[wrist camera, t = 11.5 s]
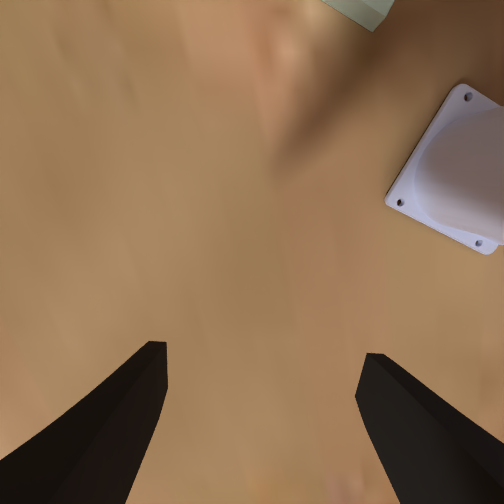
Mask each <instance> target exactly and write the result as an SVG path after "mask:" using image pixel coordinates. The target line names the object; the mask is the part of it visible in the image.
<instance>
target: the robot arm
mask: <svg viewBox="0 0 504 504" xmlns="http://www.w3.org/2000/svg"><path fill="white" fill-rule="evenodd" d="M465 94H466V95H467V100H466V101H465V100H464V96H465ZM399 199H401V203H400V205H397V201H398V200H399ZM385 203H386V205H388V206H390V207H392V208H393V209H395V210H397V211H399V212H401V213H403V214H405V215H407V216H409V217H411V218H413V219H415V220H417V221H419V222H421V223H423V224H425V225H427V226H429V227H431V228H433V229H435V230H437V231H438V232H440V233H442V234H444V235H446V236H448V237H450V238H452V239H454V240H456V241H458V242H460V243H462V244H464V245H466V246H468V247H470V248H472V249H474V250H476V251H478V252H480V253H482V254H485V255H489V254H491V253H493V252H494V251H495V249H496V248H497V247H498V246H499V244H500V245H503V246H504V106H500V105H498V104H497V103H495V102H494V101H492V100H491V99H489V98H487V97H486V96H484V95H483V94H481V93H480V92H478V91H476V90H475V89H473V88H472V87H470V86H469V85H467V84H459V85H457V86H455V87H454V88H453V89H452V90H451V91H450V93H449V94H448V96H447V98H446V99H445V101H444V103H443V104H442V106H441V107H440V109H439V111H438V112H437V114H436V116H435V117H434V119H433V120H432V122H431V124H430V125H429V127H428V129H427V130H426V132H425V133H424V135H423V137H422V138H421V140H420V142H419V143H418V145H417V146H416V148H415V150H414V151H413V153H412V154H411V156H410V158H409V159H408V161H407V163H406V164H405V166H404V167H403V169H402V171H401V172H400V174H399V176H398V177H397V179H396V180H395V182H394V184H393V185H392V187H391V189H390V190H389V192H388V193H387V195H386V197H385ZM476 241H478V242H477V244H475V243H476ZM167 389H168V375H167V344H166V342H158V341H148V342H147V343H146V344H145V345H144V346H142V347H141V348H140V349H139V350H138V351H137V352H136V353H135V354H134V355H132V356H131V357H130V358H129V359H128V360H127V361H126V362H125V363H124V364H122V365H121V366H120V367H119V368H118V369H117V370H116V371H115V372H113V373H112V374H111V375H110V376H109V377H108V378H106V379H105V380H104V381H103V382H102V383H101V384H99V385H98V386H97V387H96V388H95V389H94V390H92V391H91V392H90V393H89V394H88V395H86V396H85V397H84V398H83V399H81V400H80V401H79V402H78V403H76V404H75V405H74V406H73V407H71V408H70V409H69V410H68V411H66V412H65V413H64V414H63V415H61V416H60V417H59V418H58V419H56V420H55V421H54V422H52V423H51V424H50V425H48V426H47V427H46V428H45V429H43V430H42V431H41V432H39V433H38V434H36V435H35V436H34V437H32V438H31V439H30V440H28V441H27V442H25V443H24V444H23V445H21V446H20V447H18V448H17V449H16V450H14V451H13V452H11V453H10V454H8V455H7V456H6V457H4V458H3V459H1V460H0V504H125V503H126V500H127V498H128V495H129V493H130V490H131V488H132V485H133V483H134V480H135V478H136V475H137V473H138V470H139V468H140V465H141V463H142V460H143V458H144V455H145V453H146V450H147V448H148V445H149V443H150V440H151V438H152V435H153V433H154V430H155V428H156V425H157V423H158V420H159V417H160V413H161V410H162V407H163V403H164V400H165V396H166V393H167ZM355 398H356V401H357V404H358V407H359V411H360V414H361V417H362V419H363V422H364V425H365V428H366V430H367V432H368V435H369V437H370V439H371V441H372V443H373V446H374V448H375V450H376V452H377V454H378V457H379V459H380V461H381V463H382V465H383V467H384V469H385V472H386V474H387V476H388V478H389V480H390V482H391V485H392V487H393V489H394V491H395V493H396V495H397V497H398V500H399V502H400V504H504V443H502V442H501V441H499V440H498V439H497V438H495V437H494V436H492V435H491V434H490V433H488V432H487V431H485V430H484V429H483V428H481V427H480V426H478V425H477V424H476V423H474V422H473V421H471V420H470V419H469V418H467V417H466V416H465V415H463V414H462V413H461V412H459V411H458V410H457V409H455V408H454V407H453V406H451V405H450V404H449V403H447V402H446V401H445V400H443V399H442V398H441V397H439V396H438V395H437V394H435V393H434V392H433V391H432V390H430V389H429V388H428V387H426V386H425V385H424V384H423V383H421V382H420V381H419V380H417V379H416V378H415V377H414V376H412V375H411V374H410V373H408V372H407V371H406V370H405V369H403V368H402V367H401V366H399V365H398V364H397V363H395V362H394V361H393V360H391V359H390V358H389V357H387V356H386V355H384V354H376V353H367V355H366V358H365V362H364V365H363V369H362V373H361V376H360V380H359V383H358V387H357V391H356V394H355Z"/></svg>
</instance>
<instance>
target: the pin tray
mask: <svg viewBox="0 0 504 504" xmlns="http://www.w3.org/2000/svg"><path fill="white" fill-rule="evenodd" d="M322 1H323V2H325V3H326V4H328V5H329V6H331V7H333V8H334V9H336V10H337V11H339V12H341V13H342V14H344V15H345V16H347V17H349V18H350V19H352V20H353V21H355V22H356V23H358V24H360V25H361V26H363V27H364V28H366V29H368V30H369V31H371V32H373V31H374V30H375V29H376V28H377V27H378V25H379V24H380V23H381V22H382V21H383V20H384V19H385V18H386V16H387V14H388V12H389V10H390V8H391V6H392V4H393V2H394V0H322Z"/></svg>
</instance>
